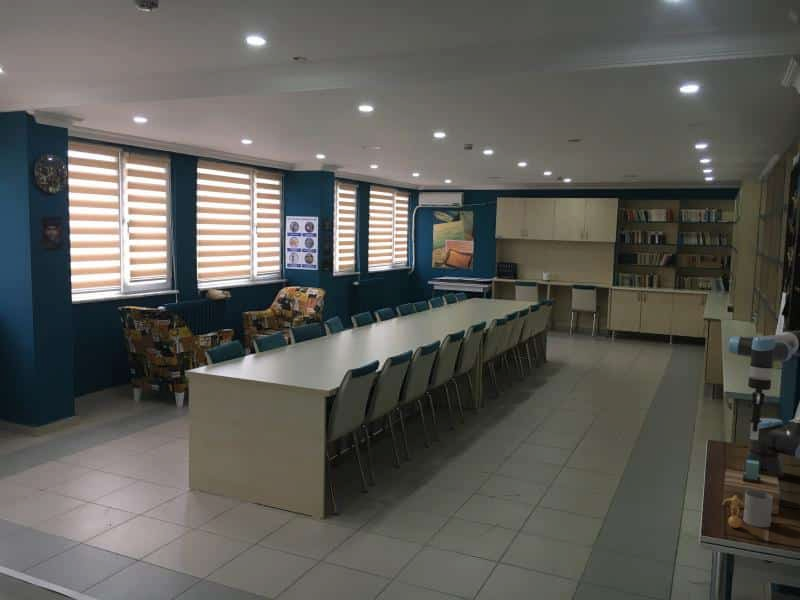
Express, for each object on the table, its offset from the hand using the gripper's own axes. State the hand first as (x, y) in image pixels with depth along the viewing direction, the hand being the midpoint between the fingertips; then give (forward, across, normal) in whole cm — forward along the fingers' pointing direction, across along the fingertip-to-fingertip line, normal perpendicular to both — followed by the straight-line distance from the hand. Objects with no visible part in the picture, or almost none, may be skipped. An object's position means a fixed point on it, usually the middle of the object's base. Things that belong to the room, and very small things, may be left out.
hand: (753, 439), depth 255 cm
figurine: (+24, +34, -4) cm, 42 cm away
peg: (+16, +3, +1) cm, 16 cm away
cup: (+24, +24, +3) cm, 34 cm away
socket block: (+23, +3, +1) cm, 23 cm away
